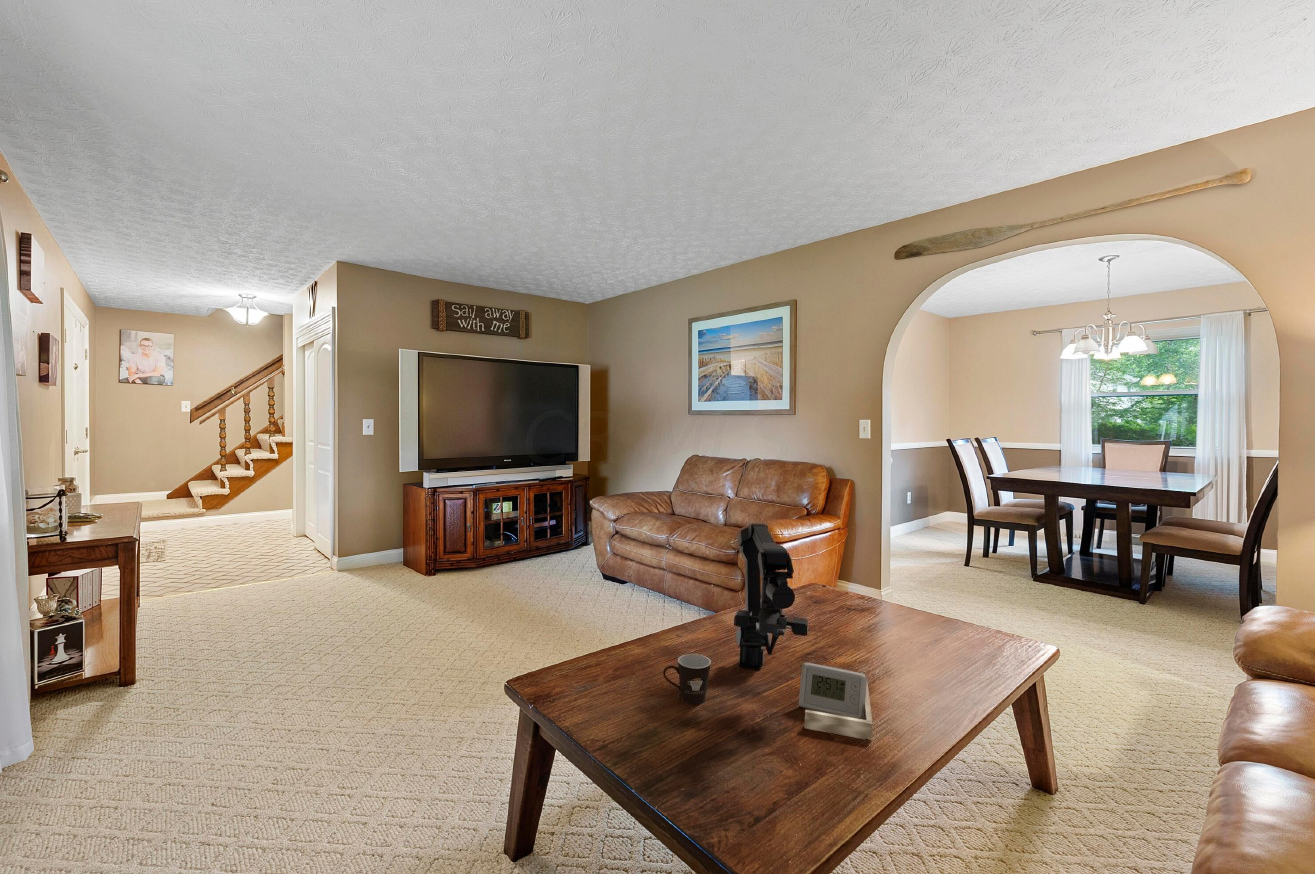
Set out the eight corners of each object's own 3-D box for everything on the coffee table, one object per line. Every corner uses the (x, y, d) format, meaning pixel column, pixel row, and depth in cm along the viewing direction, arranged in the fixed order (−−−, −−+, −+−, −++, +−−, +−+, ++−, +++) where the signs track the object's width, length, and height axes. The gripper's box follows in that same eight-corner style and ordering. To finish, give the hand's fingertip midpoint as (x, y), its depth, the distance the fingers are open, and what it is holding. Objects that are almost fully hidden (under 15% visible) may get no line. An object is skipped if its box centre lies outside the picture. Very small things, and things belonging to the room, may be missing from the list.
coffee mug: (712, 694, 156) (714, 657, 156) (704, 709, 148) (706, 670, 148) (671, 685, 160) (672, 649, 160) (660, 700, 152) (662, 662, 152)
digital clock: (795, 707, 151) (797, 666, 151) (807, 693, 159) (809, 655, 158) (859, 728, 142) (861, 685, 141) (869, 713, 149) (871, 672, 149)
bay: (804, 728, 141) (805, 711, 141) (808, 684, 164) (809, 670, 163) (871, 740, 137) (872, 723, 137) (866, 694, 159) (867, 679, 159)
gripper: (731, 600, 149) (729, 661, 149) (807, 610, 143) (804, 673, 144) (738, 588, 159) (736, 644, 160) (809, 596, 154) (806, 655, 155)
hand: (769, 654), depth 155 cm, fingers closed
